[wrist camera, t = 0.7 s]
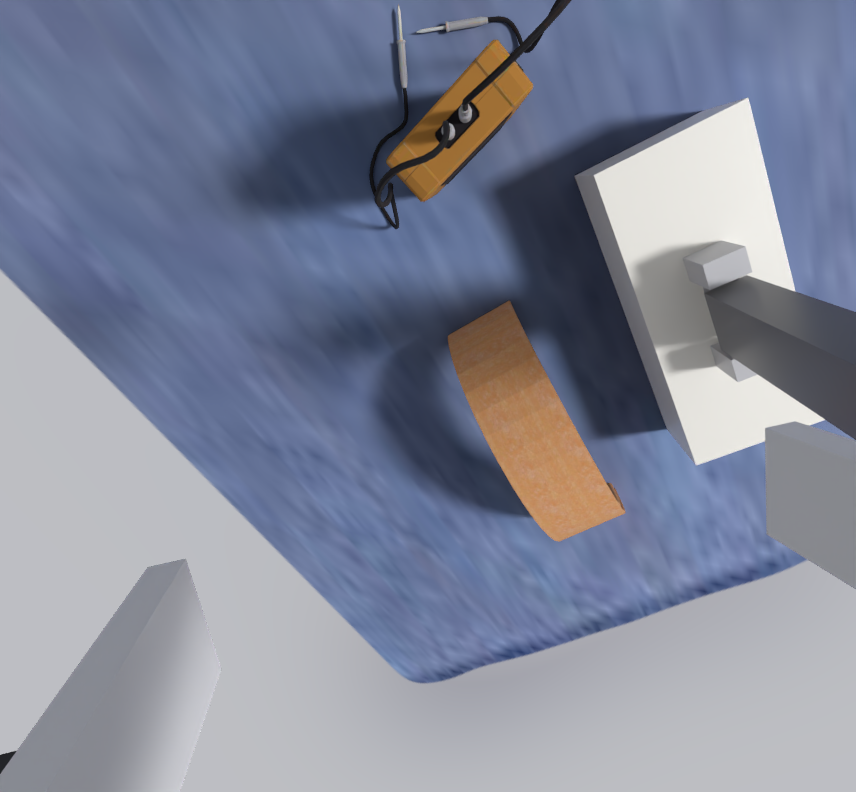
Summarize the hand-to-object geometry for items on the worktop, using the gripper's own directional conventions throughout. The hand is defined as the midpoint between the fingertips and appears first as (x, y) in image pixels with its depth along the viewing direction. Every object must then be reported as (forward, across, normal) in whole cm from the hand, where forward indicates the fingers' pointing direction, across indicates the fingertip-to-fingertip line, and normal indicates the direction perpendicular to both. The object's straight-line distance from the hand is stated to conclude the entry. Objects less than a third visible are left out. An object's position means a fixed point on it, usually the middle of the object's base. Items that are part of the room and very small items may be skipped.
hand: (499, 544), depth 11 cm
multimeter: (+29, +5, +17) cm, 34 cm away
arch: (+31, +11, -8) cm, 34 cm away
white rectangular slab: (+27, +22, +1) cm, 35 cm away
